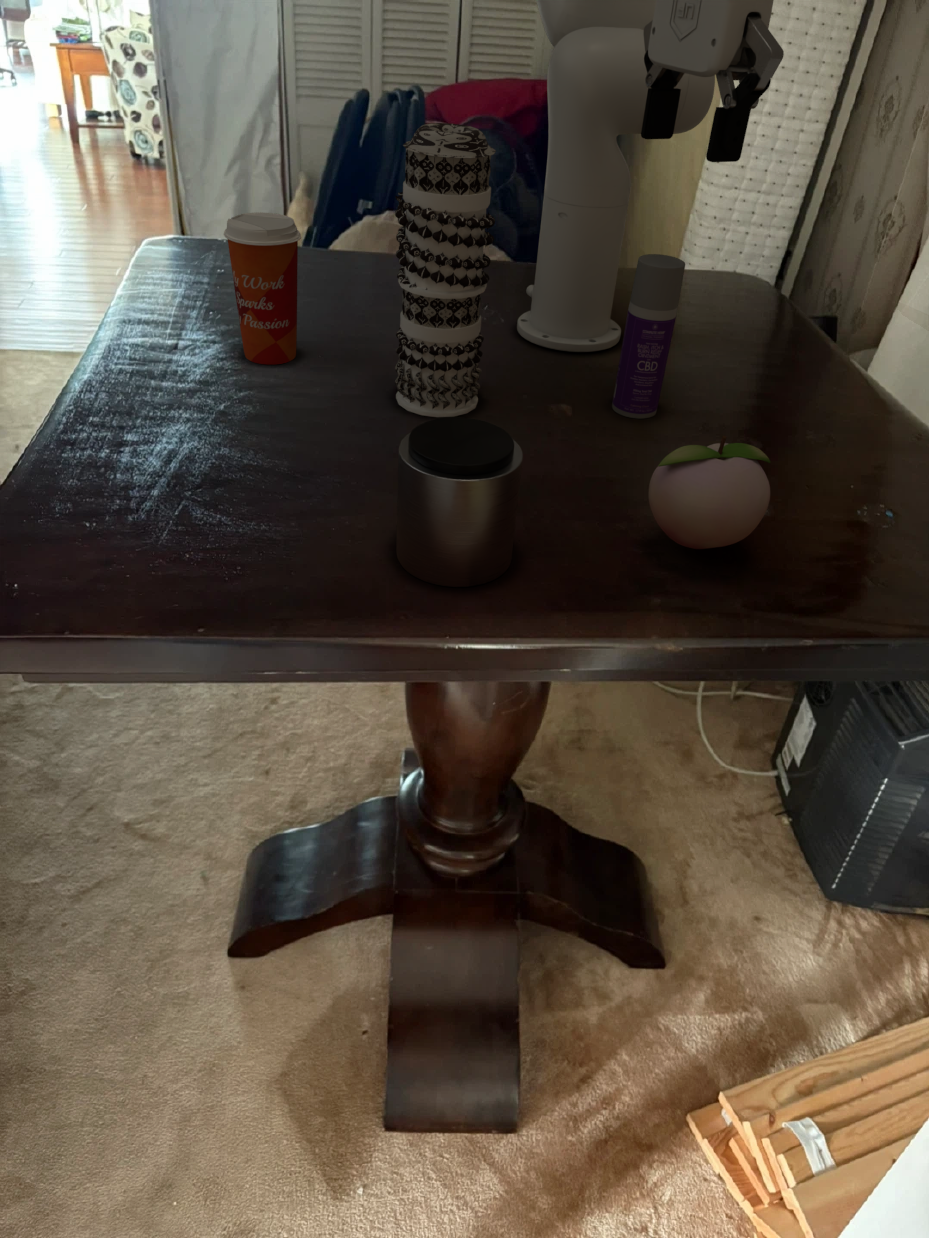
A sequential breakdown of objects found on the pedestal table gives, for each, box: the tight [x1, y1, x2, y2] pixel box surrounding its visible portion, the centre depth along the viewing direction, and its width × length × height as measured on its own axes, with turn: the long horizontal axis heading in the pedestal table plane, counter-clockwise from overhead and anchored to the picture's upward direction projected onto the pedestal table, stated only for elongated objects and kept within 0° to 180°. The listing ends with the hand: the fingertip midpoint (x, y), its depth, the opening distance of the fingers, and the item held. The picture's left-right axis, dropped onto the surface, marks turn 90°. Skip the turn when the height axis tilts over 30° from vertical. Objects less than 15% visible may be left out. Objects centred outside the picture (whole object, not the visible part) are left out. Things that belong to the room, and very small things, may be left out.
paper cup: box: [223, 211, 302, 366], centre depth 97 cm, size 8×8×14 cm
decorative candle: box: [394, 122, 497, 418], centre depth 87 cm, size 9×9×25 cm
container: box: [611, 253, 686, 419], centre depth 91 cm, size 5×5×15 cm
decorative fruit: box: [648, 434, 771, 550], centre depth 71 cm, size 9×8×10 cm
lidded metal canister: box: [395, 416, 524, 588], centre depth 69 cm, size 9×9×10 cm
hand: (688, 149), depth 81 cm, fingers open, 9 cm apart
